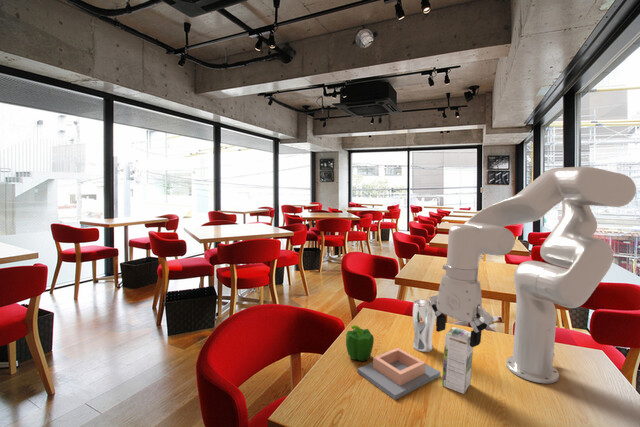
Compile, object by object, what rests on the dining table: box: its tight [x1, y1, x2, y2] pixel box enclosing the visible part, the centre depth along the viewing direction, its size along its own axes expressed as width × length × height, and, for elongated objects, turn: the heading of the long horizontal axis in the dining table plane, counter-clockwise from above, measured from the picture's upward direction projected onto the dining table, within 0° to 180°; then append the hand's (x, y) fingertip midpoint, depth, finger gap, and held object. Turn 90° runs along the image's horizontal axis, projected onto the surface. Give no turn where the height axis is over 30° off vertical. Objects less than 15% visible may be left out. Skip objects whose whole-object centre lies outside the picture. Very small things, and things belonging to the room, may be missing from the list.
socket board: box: [357, 347, 441, 401], centre depth 91 cm, size 18×14×4 cm
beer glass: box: [412, 298, 436, 353], centre depth 106 cm, size 7×7×15 cm
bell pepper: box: [345, 324, 375, 362], centre depth 100 cm, size 8×8×10 cm
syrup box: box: [441, 326, 474, 395], centre depth 86 cm, size 6×6×14 cm
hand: (456, 337), depth 85 cm, fingers open, 9 cm apart
